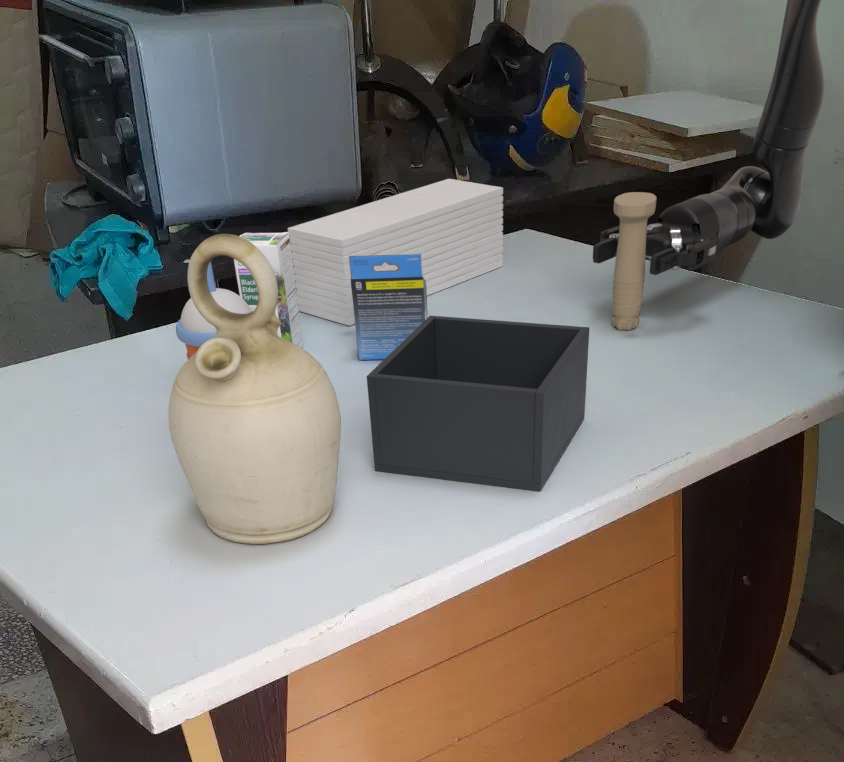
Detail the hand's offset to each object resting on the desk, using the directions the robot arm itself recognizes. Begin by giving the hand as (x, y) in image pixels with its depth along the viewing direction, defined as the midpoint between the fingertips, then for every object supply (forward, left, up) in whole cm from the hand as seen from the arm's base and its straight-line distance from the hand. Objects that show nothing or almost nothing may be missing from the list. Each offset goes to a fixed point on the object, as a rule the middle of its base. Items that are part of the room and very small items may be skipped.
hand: (623, 260), depth 125 cm
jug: (+21, +57, -9) cm, 61 cm away
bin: (+6, +37, -9) cm, 38 cm away
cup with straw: (+36, +37, -9) cm, 52 cm away
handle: (-1, -1, -9) cm, 9 cm away
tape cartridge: (+25, +15, -9) cm, 31 cm away
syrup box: (+39, +20, -9) cm, 45 cm away
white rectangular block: (+34, -11, -9) cm, 37 cm away
